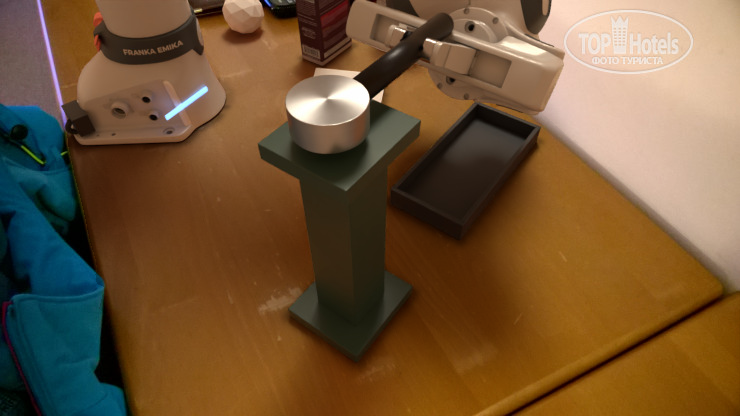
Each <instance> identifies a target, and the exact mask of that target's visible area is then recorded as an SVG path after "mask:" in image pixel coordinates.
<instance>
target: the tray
mask: <svg viewBox="0 0 740 416" xmlns="http://www.w3.org/2000/svg"><path fill="white" fill-rule="evenodd" d="M541 129H542V126H541V125H538V124H536V123H533V122H531V121H528V120H526V119H523V118H521V117H518V116H516V115H513V114H510V113H508V112H505V111H503V110H500V109H498V108H495V107H493V106H490V105H488V104H486V103H483V102H474V101H473V103H472V104H471V106H469V107H468V108H467V110H465V111H464V113H463V114H462V115H460V117H459V118H458V119H456V121H455V122H454V123H453V124H451V126H450V127H449V128H448V129H447V130H446V131H445V132H444V133H443V134H442V135H441V136H440V137H439V138H438V139H437V141H435V142H434V143H433V144H432V145H431V146H430V147H429V149H428V150H426V151H425V153H423V154H422V156H421V157H420V158H419V159H418V160H417V161H416V162H415V163H414V164H412V165H411V167H409V169H408V170H407V171H406V172H405V173H404V174H403V175H402V176H401V177H400V178H399V179H398V180H397V181H396V182H395V184H393V185H392V186H391V187H390V189H389V204H390V205H393V207H395V208H398V209H400V210H401V211H404V212H405V213H406V214H409V215H411V216H413V217H415V218H416V219H419V220H420V221H422V222H424V223H426V224H427V225H430V226H432V227H434V228H436V229H437V230H439V231H441V232H443V233H445V234H446V235H449V236H451V237H453V238H454V239H457V240H458V241H461V240H462V238H463V237H464V236H465V235H466V233H467V232H468V231H469V230H470V228H471V227H472V226H473V224H474V223H475V221H476V220H477V219H478V218H479V216H480V215H481V214H482V212H483V211H484V210H485V208H486V207H487V206H488V205H489V203H491V201H492V200H493V198H495V196H496V194H497V193H498V192H499V191H500V189H501V188H502V187H503V185H504V184H505V183H506V182H507V180H508V179H509V178H510V177H511V175H512V174H513V172H514V171H516V169H517V167H518V166H519V165H520V163H521V162H522V161H523V160H524V158H525V157H526V156H527V154H528V153H529V152H530V150H532V148H533V147H534V145H535V144H536V143H537V141H538V139H539V135H540V132H541Z"/></svg>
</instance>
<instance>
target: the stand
mask: <svg viewBox="0 0 740 416" xmlns="http://www.w3.org/2000/svg"><path fill="white" fill-rule="evenodd" d="M421 123H422V119H419V118H417V117H415V116H413V115H410V114H408V113H406V112H404V111H401V110H398V109H396V108H395V107H392V106H389V105H387V104H385V103H382V102H381V103H380V102H378V101H376V100H373V99H371V100H370V130H369V133H368V135H367V137H366V138H365V140H364V141H363V142H362V143H360V144H359V145H358V146H356V147H354V148H352V149H350V150H347V151H345V152H340V153H335V154H320V153H314V152H311V151H308V150H305V149H303V148H301V147H300V146H298V145H297V144H296V143H295V142H294V141H293V139H292V138H291V136H290V132H289V126H288V120H286V121H285V122H284V123H282V124H280V126H279V127H277V128H276V129H275V130H273V131H272V132H270V133H269V134H267V136H265V137H264V138H262V139H261V140H260V141H259V142H258V143H257V148H258V152H259V157H260V160H262V161H264V162H266V163H267V164H269V165H271V166H273V167H275V168H276V169H278V170H280V171H282V172H283V173H285V174H287V175H289V176H291V177H292V178H295V179H296V180H298V181H299V189H300V194H301V200H302V208H303V214H304V220H305V226H306V232H307V239H308V245H309V251H310V258H311V265H312V270H313V278H314V281H313V282H312V283H311V284H310V285H309V286H308V287H307V288H306V289H305V290H304V291H303V292H302V293H301V295H300V296H299V297H298V298H297V299H295V301H294V302H292V304H291V305H290V306H289V307H288V308H287V310H288V315H289V317H290V318H292V319H293V320H295V322H298V323H299V324H300V325H302V326H303V327H305V328H306V329H308V330H309V331H310V332H312V333H313V334H315V335H316V336H317V337H318V338H320V339H322V340H323V341H324V342H325V343H327V344H329V345H330V346H331V347H333V348H335V349H336V350H337V351H339V352H340V353H341V354H342V355H345V356H346V357H347V358H349V359H350V360H351V361H352V362H354V363H356V364H358V363H359V362H360V360H361V359H362V358H363V357H364V355H365V354H367V351H368V350H369V349H370V348H371V346H372V345H373V344H374V343H375V341H376V340H377V339H378V337H379V336H380V335H381V333H382V332H383V331H384V330H385V329H386V327H387V326H388V325H389V324H390V322H391V321H392V320H393V318H394V317H395V316H396V315H397V313H398V312H399V311H400V310H401V308H402V307H403V306H404V304H405V303H406V302H407V300H408V299H409V298H410V297H411V296H412V294H413V287H414V286H413V285H412V284H410V283H409V282H407V281H406V280H404V279H402V278H400V277H398V276H397V275H395V274H393V273H392V272H390V271H388V270H386V243H387V242H386V241H387V240H386V238H387V237H386V236H387V203H388V171H389V170H388V169H389V166H391V164H392V163H393V162H395V160H396V159H397V158H398V157H399V156H401V155H402V153H403V152H404V151H406V149H408V147H410V146H411V145H412V144H413V143H414V142H415V141H416V140H417V139H418V138H419V137H420V134H421V125H422V124H421Z"/></svg>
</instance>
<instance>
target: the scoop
mask: <svg viewBox="0 0 740 416" xmlns="http://www.w3.org/2000/svg"><path fill="white" fill-rule="evenodd" d="M453 28H454V21H453V19H452V17H451V16H450V15H449V14H447V13H438V14H436V15H435V16H433V17H432V18H431V19H430V20H428V21H427V22H426V23H424V24H423V25H422V26H420V27H419V28H418V29H416V30H415V31H414V32H413V33H411V34H410V35H409V36H407V37H406V38H405V39H403V40H402V41H401V42H399V43H398V44H397V45H396V46H394V47H393V48H392V49H390V50H389V51H388V52H384V53H383V54H382V55H381V56H380V57H379V58H377V59H376V60H375V61H374V62H372V63H370V64H369V65H368V66H367V67H365V68H364V69H363V70H362V71H359V72H360V73H359V74H358V75H356V76H355V77H354V78H352V79H351V78H349V77H345V76H340V75H320V76H314V75H313V76H310V77H308V78H305V79H303V80H301V81H298V82H297V83H296V84H294V85H293V86H291V88H290V89H289V90H288V91H287V93H286V94H285V95H286V96H285V99H284V106H285V112H286V113H285V114H286V121H288V126H289V132H290V136H291V138H292V139H293V141H294V142H295V143H296V144H297V145H298V146H300V147H301V148H303V149H305V150H308V151H311V152H314V153H320V154H335V153H340V152H345V151H347V150H350V149H352V148H354V147H356V146H358V145H359V144H360V143H362V142H363V141H364V140H365V138H366V137H367V135H368V133H369V130H370V100H371V99H373V98H374V97H375V96H376V95H377V94H379V93H380V92H381V91H382V90H383V89H384V90H385V89H386V88H387V87H388V86H389V85H391V84H392V83H393V82H395V81H396V80H397V79H398V78H399V77H401V76H402V75H403V74H405V73H406V72H407V71H408V70H409V69H410V68H411V67H412V66H414V65H416V64H415V63H416V62H417V61H418V60H420V54H421V51H422V50H423V44H424V41H425V40H426V38H432V39H436V40H439V41H443V40H444V39H445V38H446V37H447V36H449V35H450V34H451V32H452V31H453Z"/></svg>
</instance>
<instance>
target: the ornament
mask: <svg viewBox="0 0 740 416" xmlns="http://www.w3.org/2000/svg"><path fill="white" fill-rule="evenodd" d="M221 9H222V10H221V12H222V15H223V18H224V21H225V22H226V24H227V25H228V26H229V28H230V29H231V30H232V31H235V32H238V33H240V34H242V35H244V34H253V33H254V32H256V31H257V30H258V29H259V28H260V27H262V24H263V21H264V18H265V12H264V8H263V4H262V2H260V0H224V3H223V6H222V8H221Z"/></svg>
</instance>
